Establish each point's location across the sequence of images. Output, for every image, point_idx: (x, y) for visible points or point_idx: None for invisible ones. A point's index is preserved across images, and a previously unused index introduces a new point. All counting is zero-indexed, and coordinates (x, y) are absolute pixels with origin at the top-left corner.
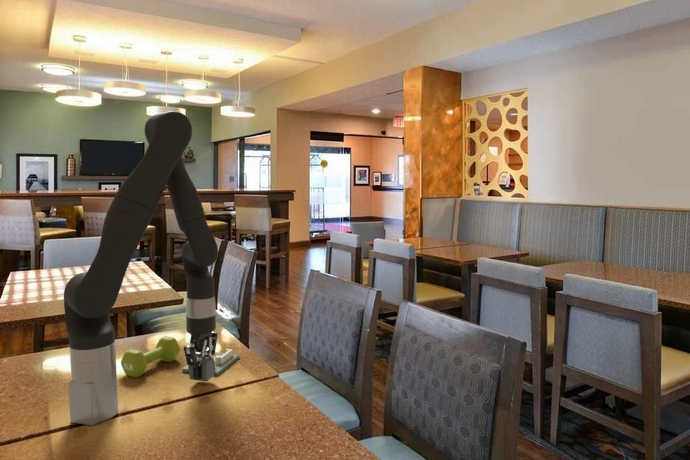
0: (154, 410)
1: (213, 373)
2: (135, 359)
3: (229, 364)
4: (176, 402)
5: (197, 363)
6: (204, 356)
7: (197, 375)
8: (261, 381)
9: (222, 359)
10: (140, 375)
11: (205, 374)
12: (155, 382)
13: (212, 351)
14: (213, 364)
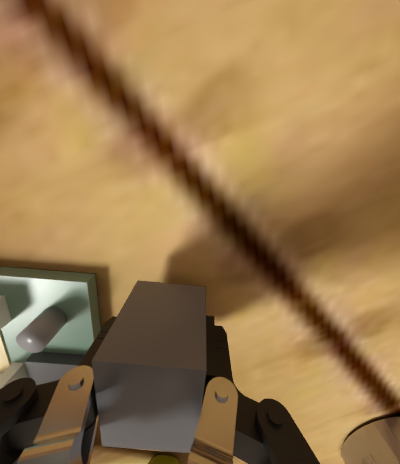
0: (383, 350)
1: (139, 288)
2: None
3: None
4: (332, 317)
5: (274, 420)
6: (94, 414)
7: (226, 340)
8: (80, 16)
9: None
10: (166, 456)
11: (205, 313)
12: None
13: (18, 415)
14: (118, 322)
